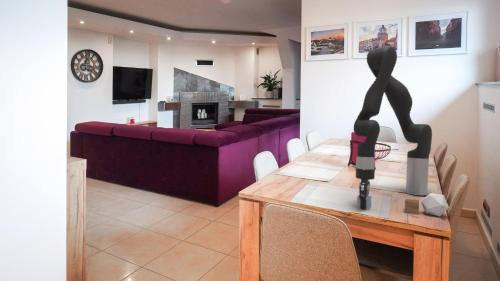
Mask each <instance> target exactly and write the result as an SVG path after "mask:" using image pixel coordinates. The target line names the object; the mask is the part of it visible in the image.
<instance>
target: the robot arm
mask: <svg viewBox="0 0 500 281" xmlns="http://www.w3.org/2000/svg"><path fill="white" fill-rule="evenodd" d="M397 60H398V53H397V50H396V49H395V47H393V46H391V45H387V46H382V47H378V48H375V49H371V50H369V51H368V53H367V54H366V62H367V65H368V68H369V69H370V72H371V73H372V74H373V76H374V77H375V80H374V81H373V82H372V84H371V85H370V86H369V88H368V90H367V91H366V92H365V96H364V99H363V104H362V108H361V110H360V111H359V113H358V115H357V118H356V119H355V121H354V123H353V132H354V134H355V136H357V137H363V138H365V139H364V141H363V142H359V143H357V147H356V160H355V178H356V179H359V180H360V182H359V186H358V187H359V190H358V191H359V192H358V195H359V199H360V208H361V209H360V208H359V209H360V210H366V199H367V196H370V187H371V182H370V181H371V180H372V181H373V180H374V179H375V176H376V175H375V174H376V173H375V171H376V161H375V160H376V159H375V156H376V154H375V153H376V151H375V150H376V145H377V142H378V139H379V136H380V132H381V130H380V129H381V127H380V124H379V122H378V121H377V120H375V119H372V118H373V117H376V116H378V115H379V113H380V111H381V106H382V101H383V97H384V95H385V97H386V100H387V101H388V104H389V105H390V107H391V109H392V110H393V113H394V115H395V117H396V119H397V122H398V124H399V126H400V129H401V130H400V131H401V132H402V135H403V138H404V140H405V141H406V142H408V143H411V144H417V145H416V147H415V148H414V149H412V150H408V151H407V152H406V153H407V154H406V156H407V157H406V178H405V180H406V182H405V193H406V194H409V195H413V196H427V195H428V194H429V193H428V191H429V188H428V187H429V168H430V167H429V166H430V153H431V150H432V139H433V131H432V127H431V126H430V125H429V124H427V123H424V124H423V123H414V121H413V120H412V117H411V110H412V108H413V97H412V96H411V94H410V91H409V88H408V87H407V86H406V85H404V83H402V82H401V81H400V80H399V79H397V78H395V77H394V76H393V75H392V74H393V72H394V69H395V66H396V64H397ZM362 195H364V196H362Z"/></svg>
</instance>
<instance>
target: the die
mask: <svg viewBox="0 0 500 281" xmlns="http://www.w3.org/2000/svg"><path fill="white" fill-rule="evenodd" d="M420 203H421V206H422V207H423V210H424V212H425V214H427V215H430V216H435V217H441V216H442V215H443V214H444V213H446V212H447V211H448V210H450V207H449V204H448V202H447V200H446V196H445V195H444V194H439V193H431V192H430V193H428V194H427V195H425V197H424V198H422V199H421V200H420Z"/></svg>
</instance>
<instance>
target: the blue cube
mask: <svg viewBox="0 0 500 281" xmlns="http://www.w3.org/2000/svg"><path fill="white" fill-rule="evenodd" d="M362 196H364V195H362ZM356 198H357V199H356V208H357V209H360V210H362V209H361V208H360V199H359V194H358V195H357V197H356ZM371 206H372V196H371V195H369V196H367V199H366V209H365V210H367V211H370V210H371Z"/></svg>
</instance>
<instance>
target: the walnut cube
mask: <svg viewBox="0 0 500 281" xmlns="http://www.w3.org/2000/svg"><path fill="white" fill-rule="evenodd" d="M404 199H405V200H404V214H410V215H411V214H412V215H420V213H419V212H420V200H419V199H415V198H404Z"/></svg>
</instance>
